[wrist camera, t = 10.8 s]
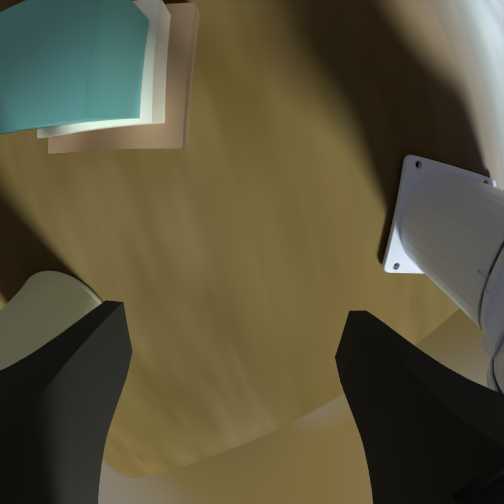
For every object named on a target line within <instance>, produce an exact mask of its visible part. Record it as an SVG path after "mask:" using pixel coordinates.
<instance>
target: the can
mask: <svg viewBox="0 0 504 504" xmlns="http://www.w3.org/2000/svg"><path fill="white" fill-rule="evenodd" d="M101 303H103V302H102V301H101V299H100V298H99V297H98V296H97V295H96V294H95V293H94V292H93V291H92V290H91V289H90V288H89V287H87V286H86V285H85V284H83V283H82V282H81V281H79V280H77V279H75V278H74V277H72V276H69V275H67V274H65V273H61V272H57V271H42V272H38V273H36V274H34V275H32V276H31V277H30V278H29V279H28V280H27V281H26V282H25V284H24V286H23V287H22V288H21V289H20V291H19V292H18V293H17V294H16V295H15V296H14V297H13V298H12V299H11V300H10V301H9V302H8V303H7V304H6V306H5V307H4V308H3V309H2V310H1V311H0V370H2V369H4V368H6V367H8V366H10V365H12V364H14V363H16V362H17V361H19V360H21V359H23V358H25V357H26V356H28V355H29V354H31V353H33V352H34V351H36V350H37V349H39V348H40V347H42V346H43V345H45V344H46V343H47V342H49V341H50V340H52V339H53V338H55V337H56V336H58V335H59V334H61V333H62V332H63V331H65V330H66V329H67V328H69V327H70V326H71V325H73V324H74V323H75V322H77V321H78V320H79V319H81V318H82V317H83V316H85V315H86V314H87V313H89V312H90V311H91V310H93V309H94V308H96V307H97V306H98V305H100V304H101Z"/></svg>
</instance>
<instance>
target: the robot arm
mask: <svg viewBox="0 0 504 504" xmlns="http://www.w3.org/2000/svg"><path fill="white" fill-rule="evenodd" d="M417 161H418V162H419V165H418V167H417V168H416V162H417ZM395 263H397V265H396V266H395V267H393V266H394V264H395ZM382 267H383V269H384V270H385V271H386V272H391V273H425V274H426V275H427V276H428V277H429V278H430V279H431V280H432V281H433V282H434V283H435V284H436V285H437V286H438V287H439V288H441V289H442V290H443V291H444V292H445V293H446V294H447V295H448V296H449V297H450V298H451V299H452V300H453V301H454V302H455V303H456V304H457V305H458V306H459V307H460V308H461V309H462V310H463V311H464V312H465V313H466V314H467V315H468V316H469V317H470V318H471V319H472V320H473V321H474V323H476V325H477V326H478V327H479V328H480V329H481V330H482V331H483V338H482V341H481V344H480V346H481V348H482V349H483V350H484V351H485V352H486V354H487V355H488V356H489V357H490V358H491V359H490V361H489V364H488V367H487V374H486V379H487V386H488V388H487V387H484V386H482V385H480V384H478V383H475V382H473V381H471V380H469V379H467V378H465V377H463V376H461V375H460V374H458V373H456V372H454V371H452V370H451V369H449V368H447V367H445V366H444V365H442V364H441V363H439V362H437V361H436V360H434V359H433V358H432V357H430V356H429V355H427V354H426V353H424V352H423V351H421V350H420V349H418V348H417V347H416V346H414V345H413V344H411V343H410V342H409V341H407V340H406V339H405V338H403V337H402V336H401V335H399V334H398V333H397V332H395V331H394V330H393V329H391V328H390V327H389V326H387V325H386V324H385V323H383V322H382V321H381V320H379V319H378V318H376V317H375V316H374V315H372V314H371V313H369V312H367V311H349V314H348V317H347V321H346V324H345V327H344V331H343V334H342V337H341V340H340V343H339V346H338V349H337V353H336V356H335V359H336V364H337V369H338V373H339V377H340V382H341V385H342V387H343V390H344V393H345V395H346V398H347V401H348V403H349V406H350V409H351V411H352V413H353V416H354V419H355V422H356V425H357V427H358V430H359V433H360V436H361V439H362V442H363V446H364V450H365V454H366V460H367V464H368V470H369V475H370V481H371V488H372V496H373V504H504V191H503V190H501V189H498V188H496V181H495V180H494V179H491V178H489V177H486V176H483V175H480V174H477V173H474V172H471V171H468V170H464V169H461V168H458V167H455V166H451V165H448V164H444V163H441V162H437V161H433V160H430V159H426V158H422V157H418V156H414V155H407V156H406V157H405V158H404V161H403V167H402V174H401V180H400V186H399V191H398V197H397V202H396V207H395V212H394V217H393V221H392V226H391V230H390V235H389V239H388V243H387V247H386V251H385V255H384V259H383V263H382ZM131 355H132V347H131V342H130V337H129V332H128V327H127V321H126V316H125V310H124V304H123V302H117V301H107V300H106V301H104V302H103V303H101V304H100V305H98V306H97V307H96V308H94V309H93V310H91V311H90V312H89V313H87V314H86V315H85V316H83V317H82V318H81V319H79V320H78V321H77V322H75V323H74V324H73V325H71V326H70V327H69V328H67V329H66V330H65V331H63V332H62V333H61V334H59V335H58V336H56V337H55V338H53V339H52V340H50V341H49V342H47V343H46V344H45V345H43V346H42V347H40V348H39V349H37V350H36V351H34V352H33V353H31V354H29V355H28V356H26V357H25V358H23V359H21V360H19V361H17V362H16V363H14V364H12V365H10V366H8V367H6V368H4V369H2V370H0V504H98V493H99V481H100V472H101V464H102V458H103V452H104V446H105V441H106V437H107V434H108V430H109V427H110V424H111V421H112V418H113V415H114V412H115V409H116V406H117V403H118V400H119V397H120V395H121V392H122V389H123V386H124V383H125V380H126V377H127V373H128V369H129V364H130V360H131Z"/></svg>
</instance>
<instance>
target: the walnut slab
mask: <svg viewBox="0 0 504 504" xmlns="http://www.w3.org/2000/svg"><path fill="white" fill-rule="evenodd" d="M165 6H166V7H167V9H168V11H169V13H170V14H171V17H170V28H169V40H168V53H167V70H166V93H165V123H158V124H144V125H132V126H122V127H113V128H105V129H97V130H90V131H83V132H76V133H70V134H64V135H58V136H51V137H48V154H54V153H64V152H76V151H90V150H109V149H139V148H185V147H187V146H188V136H189V120H190V106H191V93H192V82H193V71H194V62H195V52H196V44H197V35H198V27H199V20H200V13H199V9H198V6H197V3H174V4H165Z"/></svg>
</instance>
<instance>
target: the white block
mask: <svg viewBox="0 0 504 504" xmlns="http://www.w3.org/2000/svg"><path fill="white" fill-rule="evenodd" d="M132 2H133V3H134V4H135V5H136V6H137V7H138V8H139V9H140V11H141V12H142V13H143V14H144V15H145V16H146V17H147V18H148V20H149V27H148V34H147V41H146V49H145V58H144V67H143V78H142V90H141V104H140V118H135V119H119V120H106V121H95V122H85V123H77V124H69V125H61V126H55V127H47V128H39V129H37V139H38V138H45V137H51V136H58V135H64V134H70V133H76V132H83V131H90V130H97V129H105V128H113V127H122V126H132V125H144V124H158V123H165V93H166V70H167V53H168V40H169V28H170V17H171V14H170V13H169V11H168V9H167V7H166V6H165V4H164V2H163V1H162V0H136V1H132Z"/></svg>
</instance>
